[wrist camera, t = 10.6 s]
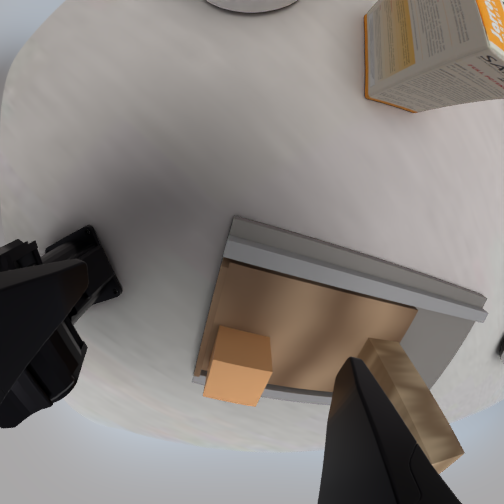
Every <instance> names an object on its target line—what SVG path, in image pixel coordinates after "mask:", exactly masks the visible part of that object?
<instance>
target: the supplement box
mask: <svg viewBox="0 0 504 504" xmlns="http://www.w3.org/2000/svg"><path fill="white" fill-rule="evenodd" d="M364 24H365V25H364V28H365V66H366V72H365V74H366V77H365V98H367V99H370V100H374V101H377V102H381V103H385V104H388V105H392V106H395V107H398V108H401V109H404V110H407V111H410V112H412V113H417V112H422V111H426V110H431V109H436V108H441V107H446V106H452V105H458V104H464V103H470V102H478V101H485V100H493V99H504V0H378V1H377V3H376V4H375V5H374V6H373V7H372V8H371V9H370V10H369V11H368V13H367V14H366V15H365V16H364Z"/></svg>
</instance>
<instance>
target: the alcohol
mask: <svg viewBox="0 0 504 504" xmlns="http://www.w3.org/2000/svg"><path fill="white" fill-rule="evenodd" d="M206 1H208V2H209V3H211V4H213V5H215V6H218V7H220V8H224V9H228V10H231V11H237V12H245V13H257V12H266V11H271V10H275V9H280V8H282V7H285V6H288V5H290V4H292V3H294V2H295V1H297V0H206Z"/></svg>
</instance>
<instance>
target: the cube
mask: <svg viewBox="0 0 504 504" xmlns="http://www.w3.org/2000/svg"><path fill="white" fill-rule="evenodd" d="M272 373H273V370H272V357H271V346H270V337H267V336H262V335H258V334H254V333H249V332H245V331H241V330H237V329H232V328H228V327H224V326H220V325H219V329H218V332H217V336H216V339H215V343H214V347H213V350H212V354H211V357H210V361H209V366H208V371H207V376H206V382H205V387H204V392H203V396H205V397H209V398H213V399H218V400H222V401H227V402H232V403H237V404H243V405H248V406H254V407H256V405H257V403H258V401H259V399H260V397H261V395H262V393H263V391H264V389H265V387H266V385H267V383H268V381H269V379H270V377H271V375H272Z"/></svg>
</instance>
